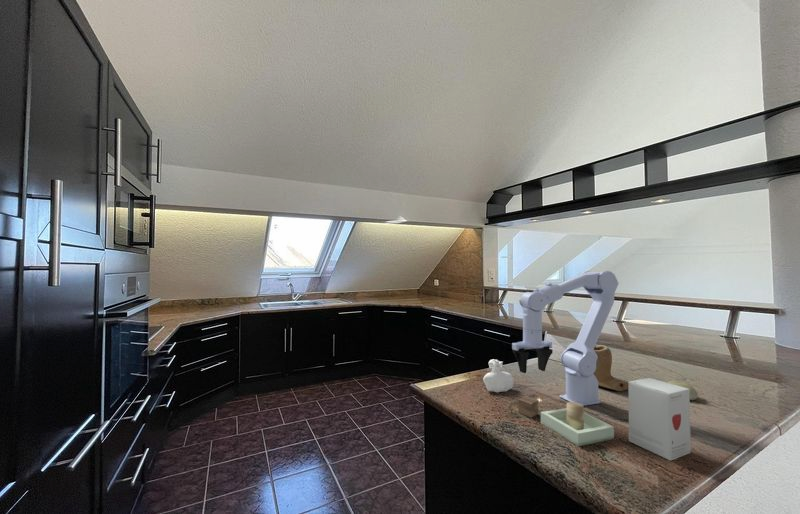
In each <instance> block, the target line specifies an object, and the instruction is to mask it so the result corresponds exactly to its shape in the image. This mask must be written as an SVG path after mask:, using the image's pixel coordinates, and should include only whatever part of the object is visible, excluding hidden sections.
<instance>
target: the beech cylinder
mask: <svg viewBox="0 0 800 514" xmlns="http://www.w3.org/2000/svg"><path fill="white" fill-rule="evenodd" d="M566 408H567V425H569V426H571V427H572V428H574V429H576V430H583V429H584V412H585V408H584V406H583V405H581V404H579V403H576V402H569V401H567V402H566Z"/></svg>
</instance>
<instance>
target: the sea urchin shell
mask: <svg viewBox="0 0 800 514" xmlns="http://www.w3.org/2000/svg"><path fill="white" fill-rule="evenodd" d="M665 382H666V383H669V384H673V385H677V386H680V387H684V388H687V389H689V397H690V401H695V400H697V399H698V392H697V390H696V389H695V388H694V387H693V386H692V385H690V384H688V383H686V382H683V381H679V380H669V381H665Z"/></svg>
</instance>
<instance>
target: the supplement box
mask: <svg viewBox="0 0 800 514" xmlns="http://www.w3.org/2000/svg"><path fill="white" fill-rule="evenodd" d="M628 382H629V389H628V442H630V443H632V444H634V445H636V446H638V447H640V448H643V449H644V450H647V451H648V452H651V453H653V454H656V455H657V456H660V457H662V458H664V459H666V460H668V461H673V460H677V459H678V458H680V457H684V456H686V455H689V454H691V448H692V447H691V445H692V443H691V407H690V406H691V405H690V403H691V402H690V401H691V400H690V397H689V389H687V388H684V387H680V386H677V385H673V384H669V383H666V382H667V381H661V380H658V379H655V378H652V377H647V378H639V379H636V380H629V381H628Z"/></svg>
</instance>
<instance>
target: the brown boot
mask: <svg viewBox="0 0 800 514" xmlns="http://www.w3.org/2000/svg"><path fill="white" fill-rule="evenodd" d="M594 351H595V353H596V354H597V356H598V358H597V361H596V370H595V372H594V373H593V374H594V375H595V377H596V378H597V380H598V387H602V388H606V389H609V390H614V391H617V392H625V391H628V390H629V381H624V380H622V379H619V378H615V377H613V376H612V373H611V370H612V364H613V353H612V351H611V349H610V348H609V347H608V346H606V345H604V344H603V345H602V344H600V345H597V344H596V345H595V347H594Z"/></svg>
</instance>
